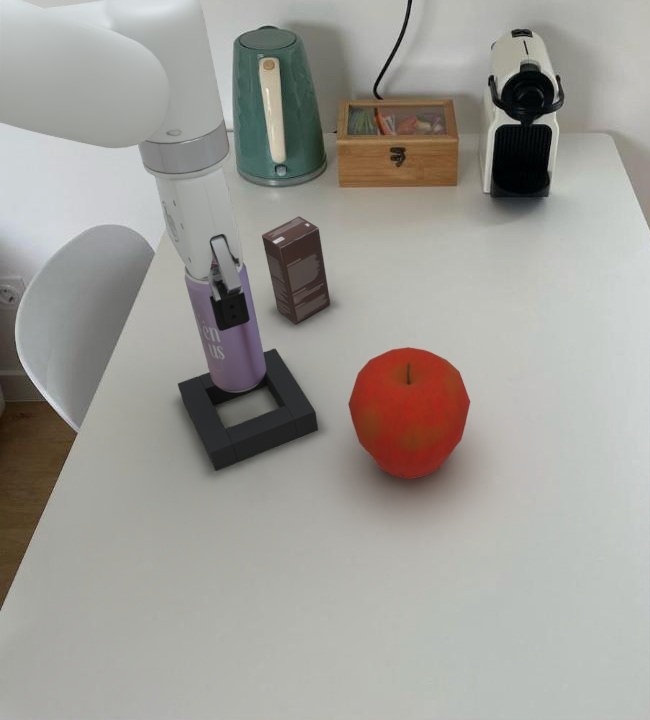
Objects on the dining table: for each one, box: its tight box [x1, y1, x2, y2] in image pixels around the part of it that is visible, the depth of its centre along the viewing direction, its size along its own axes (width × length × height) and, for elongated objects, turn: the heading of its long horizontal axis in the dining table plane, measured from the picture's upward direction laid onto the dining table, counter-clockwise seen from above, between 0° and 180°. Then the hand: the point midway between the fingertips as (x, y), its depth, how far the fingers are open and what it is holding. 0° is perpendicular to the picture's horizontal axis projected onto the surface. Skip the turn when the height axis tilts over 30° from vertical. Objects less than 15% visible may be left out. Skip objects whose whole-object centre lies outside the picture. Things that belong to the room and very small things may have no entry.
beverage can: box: [184, 260, 266, 393], centre depth 83 cm, size 6×6×15 cm
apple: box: [347, 346, 471, 480], centre depth 82 cm, size 12×12×14 cm
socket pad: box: [177, 348, 319, 472], centre depth 92 cm, size 12×12×3 cm
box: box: [261, 215, 331, 324], centre depth 103 cm, size 6×4×12 cm
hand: (222, 304), depth 82 cm, fingers closed on beverage can, 6 cm apart
